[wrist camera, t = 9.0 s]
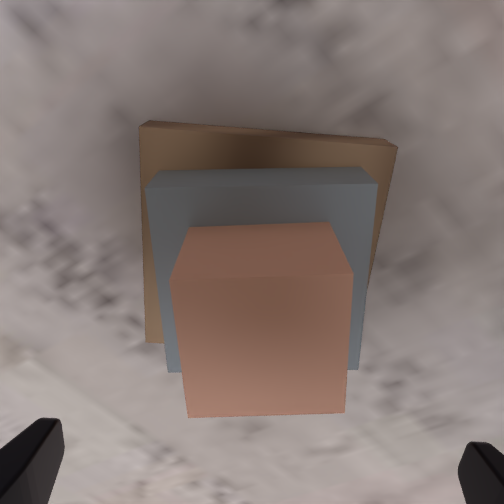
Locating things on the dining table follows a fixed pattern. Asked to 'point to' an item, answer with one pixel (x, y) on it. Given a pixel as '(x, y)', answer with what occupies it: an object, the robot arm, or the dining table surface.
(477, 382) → the dining table surface
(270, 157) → the walnut base block
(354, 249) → the slate top block
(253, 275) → the terracotta block
